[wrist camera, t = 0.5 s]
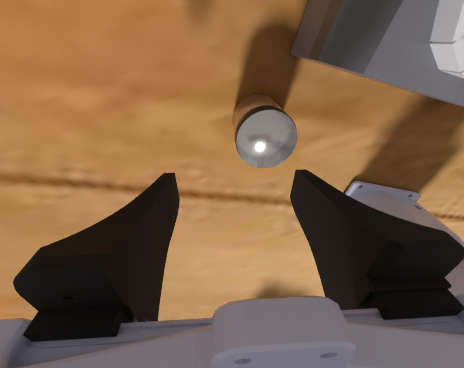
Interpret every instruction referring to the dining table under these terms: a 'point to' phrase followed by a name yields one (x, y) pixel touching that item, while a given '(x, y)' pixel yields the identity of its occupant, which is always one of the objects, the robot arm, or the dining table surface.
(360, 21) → the camera body
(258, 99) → the lens
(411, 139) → the dining table surface
